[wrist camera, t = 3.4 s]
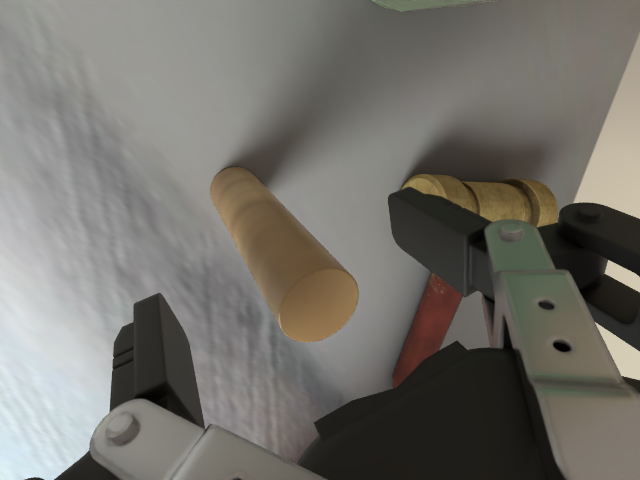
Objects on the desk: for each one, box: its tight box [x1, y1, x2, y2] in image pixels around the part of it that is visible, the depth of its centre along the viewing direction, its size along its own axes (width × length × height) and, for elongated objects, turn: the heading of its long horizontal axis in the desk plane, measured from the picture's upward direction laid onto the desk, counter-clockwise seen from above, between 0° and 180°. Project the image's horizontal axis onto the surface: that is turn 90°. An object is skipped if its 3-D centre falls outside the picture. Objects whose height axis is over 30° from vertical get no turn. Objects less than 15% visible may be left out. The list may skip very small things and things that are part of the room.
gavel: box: [393, 174, 558, 389], centre depth 28 cm, size 21×5×10 cm
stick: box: [210, 167, 359, 342], centre depth 15 cm, size 2×2×10 cm
